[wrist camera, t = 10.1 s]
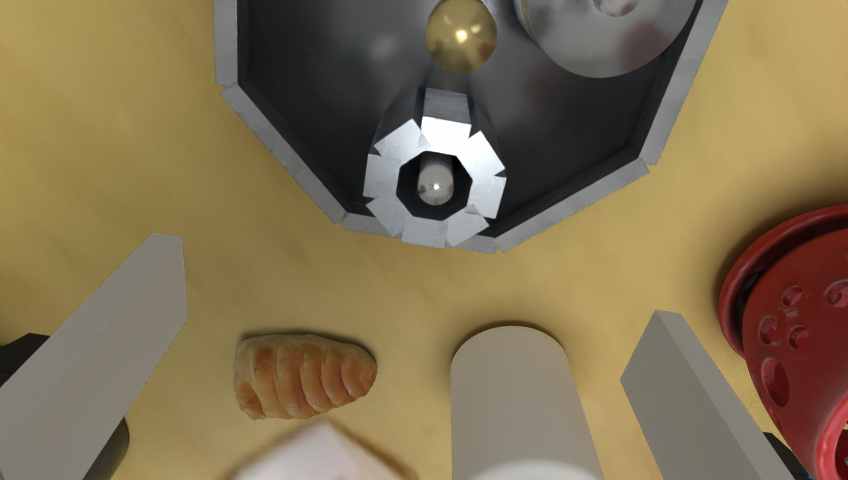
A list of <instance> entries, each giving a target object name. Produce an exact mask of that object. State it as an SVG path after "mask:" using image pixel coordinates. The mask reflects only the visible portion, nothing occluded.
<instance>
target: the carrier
mask: <svg viewBox="0 0 848 480" xmlns="http://www.w3.org/2000/svg"><path fill="white" fill-rule="evenodd" d="M727 2H728V0H213V4H214V38H215V73H216V85H221V86H226V87H227V88H226V89H225V90H224V91H222V92H221V93H220V95H221V96H222V97H223V98H224V99H225V100H226V101H227V103H228V104H229V105H230V106H231V107H232V108H233V109H234V111H235V112H236V113H237V114H238V115H239V116H240V117H241V119H242V120H243V121H244V122H245V123H246V124H247V125H248V126H249V128H250V129H251V130H252V131H253V132H254V133H255V134H256V136H257V137H258V138H259V139H260V140H261V141H262V142H263V144H264V145H265V146H266V147H267V148H268V149H269V150H270V152H271V153H272V154H273V155H274V156H275V157H276V158H277V159H278V161H279V162H280V163H281V164H282V165H283V166H284V167H285V169H286V170H287V171H288V172H289V173H290V174H291V175H292V177H293V178H294V179H295V180H296V181H297V182H298V183H299V185H300V186H301V187H302V188H303V189H304V190H305V191H306V192H307V194H308V195H309V196H310V197H311V198H312V199H313V200H314V202H315V203H316V204H317V205H318V206H319V207H320V208H321V210H322V211H323V212H324V213H325V214H326V215H327V216H328V218H329V219H330V220H331V221H332V222H333V223H334V224H336V223H338V222H340V221H341V220H343V222H342V229H348V230H354V231H359V232H365V233H371V234H377V235H383V236H389V237H392V236H391V235H390V234H389V232H388V231H387V230H386V229H385V228H384V226H383V225H382V224H381V223H380V222H379V220H378V219H377V218H376V217H375V216H374V214H373V213H372V212H371V211H370V210H369V208H368V207H367V206H366V202H367V199H368V197H366V196H363V192H364V184H365V176H366V168H367V160H368V153H369V151H370V148H371V145H372V142H373V139H374V136H375V133H376V131H377V128H378V125H379V122H380V119H383V116H384V113H385V111H386V110H388V109H389V108H391V107H392V106H393V105H395V104H396V103H398V102H399V101H400V100H402V99H403V98H405V97H406V96H407V95H409V94H410V93H412V92H413V91H415V90H416V89H418V90H419V92H420V93H421V95H422V96H423V97H425V91H426V87H431V88H436V89H442V90H447V91H452V92H458V93H463V94H466V96H467V102H470V101H471V100H473V99H474V100H475V102H476V103H477V105H478V106H479V108H480V109H481V111H482V112H483V114H484V116H485V117H486V119H487V120H488V122H489V123H490V125H491V126H492V128H493V129H494V131H495V134H496V138H497V141H498V145H499V148H500V152H501V155H502V159H503V162H504V166H505V169H504V170H505V174H506V178H507V179H506V182H505V186H504V189H503V193H502V197H501V200H500V204H499V207H498V211H497V215H496V218H489V217H488V220H489V227H487V228H485V229H483V230H482V231H480V232H478V233H477V234H475V235H473V236H471V237H470V238H468V239H466V240H464V241H463V242H461V243H459V244H457V245H456V246H454V248H460V249H466V250H472V251H478V252H484V253H490V254H495V251H496V248H497V246H498V248H499V249H500V250H501V252H502V253H503V252H505V251H507V250H509V249H510V248H512V247H514V246H516V245H518V244H520V243H521V242H523V241H525V240H527V239H529V238H531V237H532V236H534V235H536V234H538V233H540V232H542V231H543V230H545V229H547V228H549V227H551V226H553V225H554V224H556V223H558V222H560V221H562V220H563V219H565V218H567V217H569V216H571V215H573V214H574V213H576V212H578V211H580V210H582V209H584V208H585V207H587V206H589V205H591V204H593V203H595V202H596V201H598V200H600V199H602V198H604V197H606V196H607V195H609V194H611V193H613V192H615V191H616V190H618V189H620V188H622V187H624V186H626V185H627V184H629V183H631V182H633V181H635V180H637V179H638V178H640V177H642V176H644V175H646V174H648V173H649V170H648V168H647V166H646V164H650V165H657V162H658V160H659V158H660V156H661V153H662V151H663V149H664V146H665V144H666V142H667V140H668V137H669V135H670V133H671V130H672V128H673V126H674V124H675V121H676V119H677V117H678V114H679V112H680V110H681V108H682V105H683V103H684V101H685V98H686V96H687V94H688V92H689V89H690V87H691V85H692V82H693V80H694V78H695V76H696V73H697V71H698V69H699V66H700V64H701V62H702V60H703V57H704V55H705V53H706V50H707V48H708V46H709V44H710V41H711V39H712V37H713V34H714V32H715V30H716V28H717V25H718V23H719V21H720V18H721V16H722V14H723V12H724V9H725V7H726V5H727ZM408 162H409V163H410V164H411V166H412V167H413V168H414V170H415V171H416V172H417V174H419V181H418V193H419V196H420V197H421V199H422V200H423V201H425V202H426V203H428V204H431V205H440V204H443V203H445V202H447V201H448V200H449V199H450V198H451V196H452V194H453V190H454V187H453V171H454V170H455V169H457V168H458V167H460V166H462V165H463V164H462V163H461V162H460V160H459V159H458V157H457V156H455V155H450V154H444V153H438V152H433V151H427V150H424V151H423V152H421V153H420V154H418V155H417V156H415V157H414V158H412V159H411V160H409V161H408ZM394 237H395V238H401V237H402V232H400V233H399V234H397V235H395V236H394ZM444 246H448V247H452V246H451V244H450V243H449V242H448V241H447V239H445V243H444Z"/></svg>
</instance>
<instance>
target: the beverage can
mask: <svg viewBox="0 0 848 480" xmlns="http://www.w3.org/2000/svg"><path fill="white" fill-rule="evenodd" d="M450 389H451V440H452V480H604V476H603V473H602V470H601V467H600V463H599V460H598V457H597V453H596V450H595V447H594V444H593V440H592V437H591V434H590V430H589V427H588V424H587V421H586V417H585V414H584V411H583V407H582V404H581V401H580V398H579V394H578V391H577V388H576V384H575V381H574V378H573V375H572V371H571V368H570V365H569V362H568V358H567V356H566V353H565V351H564V350H563V348H562V347H561V346H560V344H559V343H558V342H557V341H555V340H554V339H553V338H552V337H550V336H549V335H547V334H545V333H543V332H541V331H538V330H536V329H532V328H528V327H522V326H503V327H497V328H492V329H489V330H486V331H483V332H481V333H479V334H477V335H475V336H473V337H472V338H470V339H469V340H468V341H466V342H465V343H464V344H463V345H462V346H461V347H460V348H459V350H458V351H457V352H456V354H455V356H454V358H453V360H452V363H451V368H450Z"/></svg>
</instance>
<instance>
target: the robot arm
mask: <svg viewBox="0 0 848 480" xmlns="http://www.w3.org/2000/svg"><path fill="white" fill-rule="evenodd" d="M187 319H188V311H187V297H186V282H185V267H184V252H183V238H182V237H180V236H173V235H167V234H160V233H154V232H152V233H151V234H150V235H149V237H148V238H147V239H146V240H145V241H144V242H143V243H142V244H141V245H140V246H139V247H138V248H137V249H136V250H135V251H134V252H133V253H132V254H131V255H130V256H129V257H128V258H127V259H126V260H125V261H124V262H123V263H122V264H121V265H120V266H119V267H118V268H117V269H116V270H115V271H114V272H113V273H112V274H111V275H110V276H109V277H108V278H107V279H106V280H105V281H104V282H103V283H102V284H101V285H100V287H99V288H98V289H97V290H96V291H95V292H94V293H93V294H92V295H91V296H90V297H89V298H88V299H87V300H86V301H85V302H84V303H83V304H82V305H81V306H80V307H79V308H78V309H77V310H76V311H75V312H74V313H73V314H72V315H71V316H70V317H69V318H68V319H67V320H66V321H65V322H64V323H63V324H62V325H61V326H60V327H59V328H58V329H57V330H56V331H55V332H54V333H53V334H52V335H51V336H47V335H40V334H32V333H28V334H26V335H25V336H23V337H21V338H19V339H17V340H15V341H13V342H12V343H10V344H8V345H6V346H4V347H2V348H1V347H0V480H110V479H111V477H112V476H113V474H114V472H115V471H116V469H117V468H118V466H119V464H120V463H121V461H122V460H123V458H124V456H125V454H126V452H127V448H128V433H127V429H126V426H125V423H124V421H123V419H122V418H123V417H124V415H125V414H126V412H127V411H128V409H129V408H130V406H131V404H132V403H133V401H134V400H135V398H136V397H137V395H138V394H139V392H140V391H141V389H142V388H143V386H144V385H145V383H146V382H147V380H148V379H149V377H150V375H151V374H152V372H153V371H154V369H155V368H156V366H157V365H158V363H159V362H160V360H161V359H162V357H163V356H164V354H165V353H166V351H167V350H168V348H169V346H170V345H171V343H172V342H173V340H174V339H175V337H176V336H177V334H178V333H179V331H180V330H181V328H182V327H183V325H184V324H185V322H186V321H187ZM620 381H621V384H622V386H623V388H624V390H625V393H626V395H627V397H628V399H629V402H630V404H631V406H632V409H633V411H634V413H635V415H636V418H637V420H638V422H639V424H640V427H641V429H642V431H643V433H644V436H645V438H646V440H647V442H648V445H649V447H650V449H651V452H652V454H653V456H654V458H655V461H656V463H657V465H658V467H659V470H660V472H661V474H662V476H663V479H664V480H812V479H809V474H808V473H807V471H806V470H805V468H804V467H803V466H802V464H801V463H800V462H799V460H798V459H797V457H796V456H795V455H794V453H793V452H792V451H791V450H790V449H788V448H787V447H786V446H785V445H784V444H783V443H782V442H781V441H780V440H779V439H778V438H776V437H775V436H774V435H773V434H772V433H767V432H762V431H761V430H760V428H759V427H758V425H757V424H756V422H755V421H754V420H753V418H752V417H751V415H750V414H749V412H748V411H747V409H746V408H745V406H744V405H743V404H742V402H741V401H740V399H739V398H738V396H737V395H736V393H735V392H734V390H733V389H732V388H731V386H730V385H729V383H728V382H727V380H726V379H725V377H724V376H723V374H722V373H721V372H720V370H719V369H718V367H717V366H716V364H715V363H714V361H713V360H712V359H711V357H710V356H709V354H708V353H707V351H706V350H705V348H704V347H703V345H702V344H701V343H700V341H699V340H698V338H697V337H696V335H695V334H694V332H693V331H692V329H691V328H690V327H689V325H688V324H687V322H686V321H685V319H684V318H683V316H682V315H681V314H679V313H673V312H666V311H660V310H655V311H654V313H653V315H652V317H651V319H650V321H649V323H648V325H647V327H646V329H645V331H644V333H643V335H642V337H641V339H640V341H639V343H638V345H637V347H636V349H635V351H634V353H633V355H632V356H631V358H630V360H629V362H628V364H627V366H626V368H625V370H624V372H623V374H622V376H621V378H620Z"/></svg>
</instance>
